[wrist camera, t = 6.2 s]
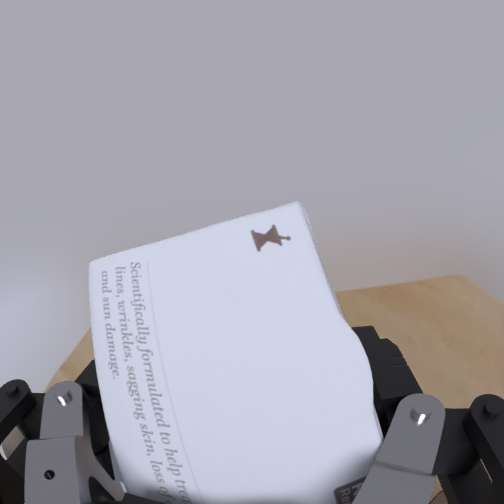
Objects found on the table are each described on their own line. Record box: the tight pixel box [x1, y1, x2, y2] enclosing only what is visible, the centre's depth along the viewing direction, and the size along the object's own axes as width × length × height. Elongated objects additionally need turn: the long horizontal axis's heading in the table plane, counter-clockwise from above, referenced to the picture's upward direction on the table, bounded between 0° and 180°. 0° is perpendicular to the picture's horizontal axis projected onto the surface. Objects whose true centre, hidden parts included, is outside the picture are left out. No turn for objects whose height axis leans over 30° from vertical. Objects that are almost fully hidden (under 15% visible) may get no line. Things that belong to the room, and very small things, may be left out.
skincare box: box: [89, 202, 384, 504], centre depth 11 cm, size 8×6×15 cm
